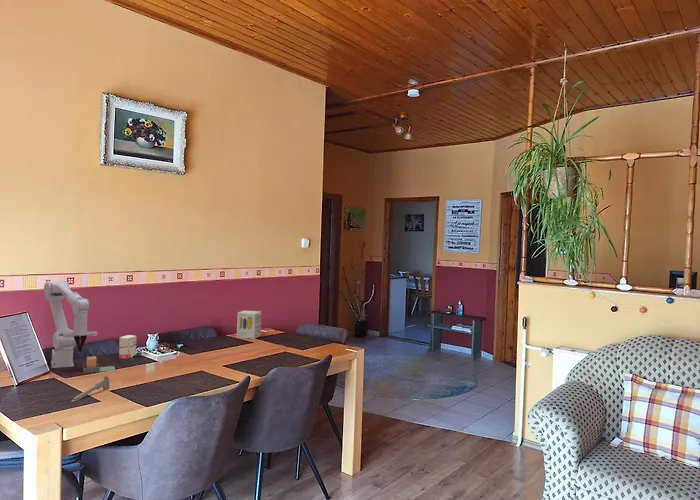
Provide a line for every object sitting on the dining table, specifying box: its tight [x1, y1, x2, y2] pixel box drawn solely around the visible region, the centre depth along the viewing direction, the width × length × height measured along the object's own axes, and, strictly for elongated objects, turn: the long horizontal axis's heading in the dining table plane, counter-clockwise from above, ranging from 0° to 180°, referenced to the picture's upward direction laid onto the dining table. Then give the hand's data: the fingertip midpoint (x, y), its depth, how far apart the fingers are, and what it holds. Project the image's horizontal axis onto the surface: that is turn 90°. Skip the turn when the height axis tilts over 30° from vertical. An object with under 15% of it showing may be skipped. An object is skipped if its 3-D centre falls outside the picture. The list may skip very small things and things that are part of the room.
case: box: [82, 362, 101, 374], centre depth 244 cm, size 7×15×2 cm, turn 30°
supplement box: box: [236, 310, 262, 340], centre depth 342 cm, size 13×13×18 cm
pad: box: [99, 365, 116, 372], centre depth 245 cm, size 7×9×1 cm
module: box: [86, 355, 97, 368], centre depth 241 cm, size 4×6×6 cm, turn 30°
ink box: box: [118, 334, 137, 360], centre depth 270 cm, size 9×5×12 cm, turn 168°
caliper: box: [70, 374, 110, 403], centre depth 205 cm, size 20×1×6 cm, turn 167°
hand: (79, 351), depth 241 cm, fingers closed
